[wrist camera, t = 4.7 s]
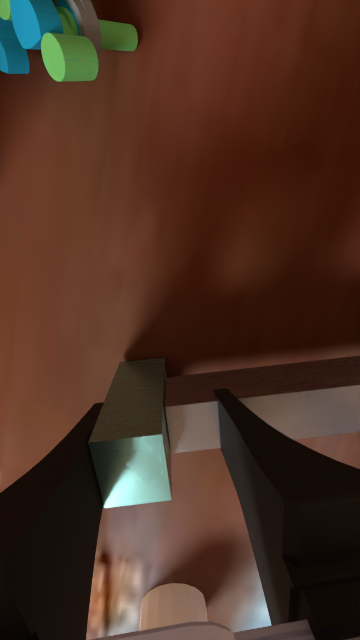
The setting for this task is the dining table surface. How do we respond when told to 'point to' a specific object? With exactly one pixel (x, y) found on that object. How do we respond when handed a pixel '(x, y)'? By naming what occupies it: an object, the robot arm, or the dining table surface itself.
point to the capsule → (172, 606)
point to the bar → (208, 416)
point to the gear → (59, 37)
